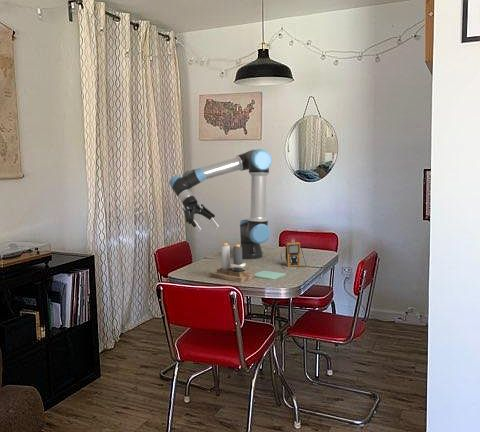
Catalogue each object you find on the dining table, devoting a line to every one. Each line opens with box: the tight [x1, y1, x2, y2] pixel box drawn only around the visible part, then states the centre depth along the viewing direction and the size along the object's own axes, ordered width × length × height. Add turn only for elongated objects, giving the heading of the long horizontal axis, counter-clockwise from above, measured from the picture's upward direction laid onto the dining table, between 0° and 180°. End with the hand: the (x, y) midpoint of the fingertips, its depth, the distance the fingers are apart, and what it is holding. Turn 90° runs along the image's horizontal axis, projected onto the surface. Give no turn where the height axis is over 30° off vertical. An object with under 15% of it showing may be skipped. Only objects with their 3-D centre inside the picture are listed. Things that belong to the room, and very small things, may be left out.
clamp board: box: [209, 267, 256, 283], centre depth 248 cm, size 11×20×4 cm, turn 51°
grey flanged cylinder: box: [230, 243, 247, 272], centre depth 244 cm, size 5×7×15 cm
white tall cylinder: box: [220, 242, 231, 271], centre depth 249 cm, size 4×4×15 cm
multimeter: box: [280, 229, 307, 270], centre depth 265 cm, size 15×10×20 cm
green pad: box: [254, 270, 287, 281], centre depth 250 cm, size 12×14×1 cm
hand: (208, 229), depth 257 cm, fingers open, 13 cm apart
